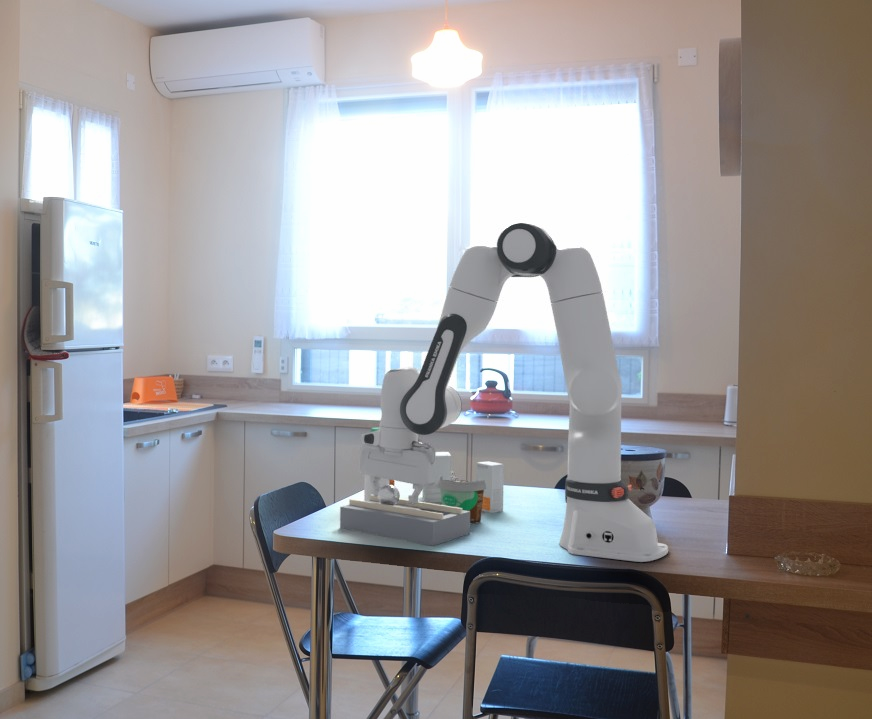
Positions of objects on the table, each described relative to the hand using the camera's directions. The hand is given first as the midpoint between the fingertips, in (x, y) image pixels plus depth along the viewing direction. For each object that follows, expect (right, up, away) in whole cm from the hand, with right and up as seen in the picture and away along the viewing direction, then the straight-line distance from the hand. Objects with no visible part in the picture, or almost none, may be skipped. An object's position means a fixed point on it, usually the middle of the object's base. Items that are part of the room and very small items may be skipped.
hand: (395, 499), depth 196 cm
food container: (+14, -7, +9) cm, 18 cm away
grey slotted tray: (+2, -7, -1) cm, 7 cm away
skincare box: (+23, -7, +22) cm, 32 cm away
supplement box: (+9, -6, +34) cm, 36 cm away
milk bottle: (-5, -6, +28) cm, 29 cm away
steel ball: (-2, +1, +1) cm, 2 cm away
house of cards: (+13, -6, +59) cm, 61 cm away
